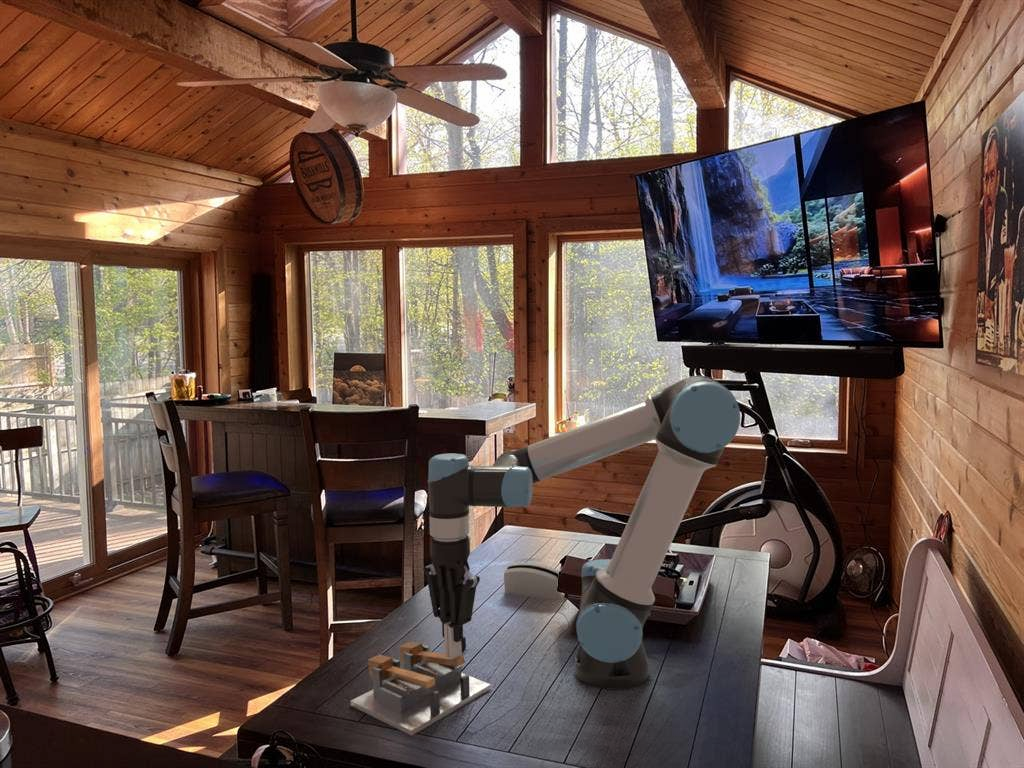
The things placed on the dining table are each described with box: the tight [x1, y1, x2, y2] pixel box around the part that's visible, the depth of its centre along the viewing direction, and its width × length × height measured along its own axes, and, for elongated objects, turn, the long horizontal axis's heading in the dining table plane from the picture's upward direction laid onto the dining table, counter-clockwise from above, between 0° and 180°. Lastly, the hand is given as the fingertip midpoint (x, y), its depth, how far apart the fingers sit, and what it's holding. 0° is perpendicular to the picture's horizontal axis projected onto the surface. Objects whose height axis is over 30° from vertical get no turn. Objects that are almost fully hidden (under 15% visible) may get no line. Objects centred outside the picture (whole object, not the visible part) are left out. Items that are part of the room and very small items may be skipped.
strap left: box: [368, 654, 435, 688], centre depth 145 cm, size 16×3×3 cm, turn 50°
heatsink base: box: [350, 643, 492, 737], centre depth 148 cm, size 17×21×7 cm
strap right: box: [398, 641, 466, 666], centre depth 152 cm, size 16×3×3 cm, turn 50°
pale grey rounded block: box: [503, 562, 566, 602], centre depth 200 cm, size 17×5×10 cm, turn 65°
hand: (453, 655), depth 147 cm, fingers closed
